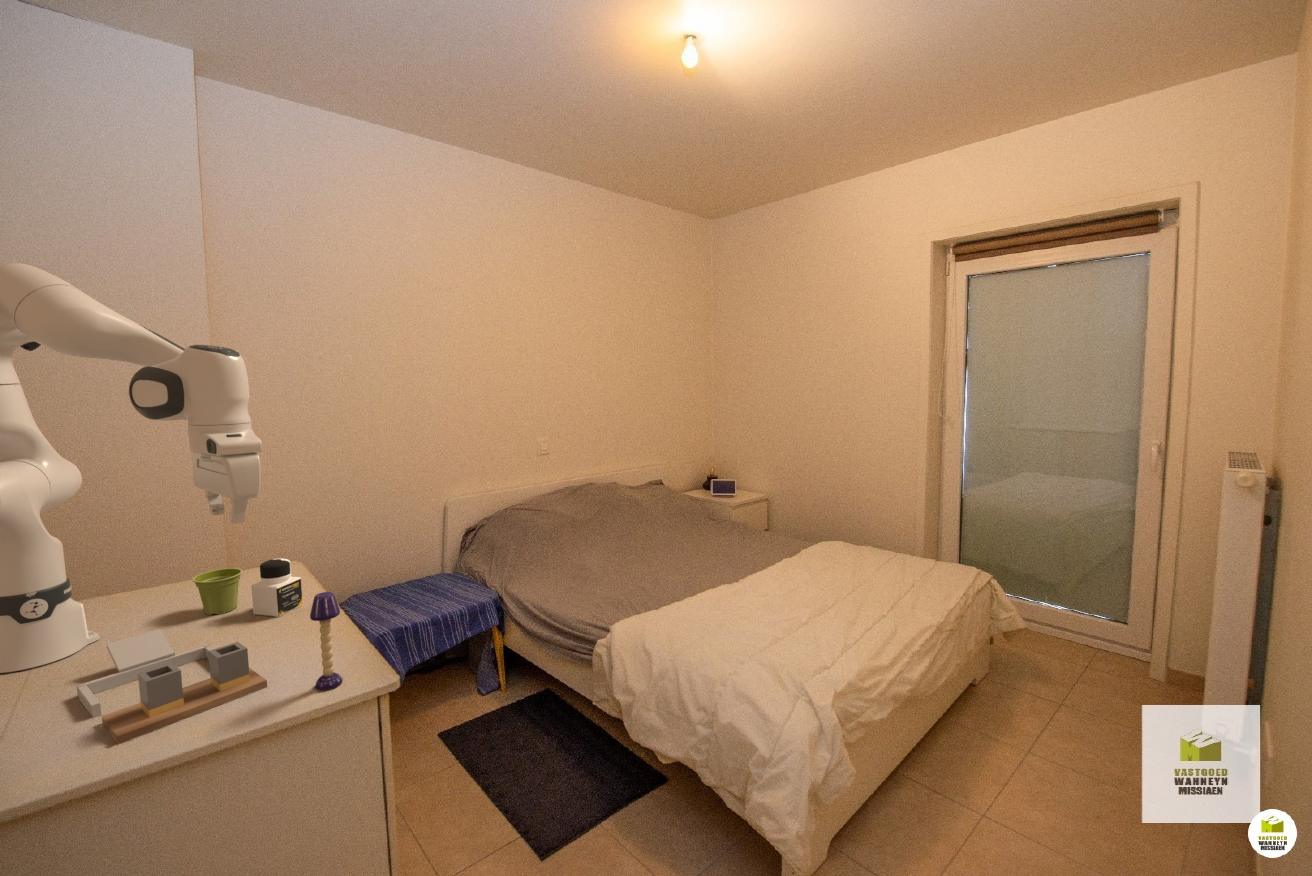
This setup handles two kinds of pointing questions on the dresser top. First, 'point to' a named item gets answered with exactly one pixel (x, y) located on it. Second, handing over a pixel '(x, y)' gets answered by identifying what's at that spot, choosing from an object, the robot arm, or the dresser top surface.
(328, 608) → the toy lamp
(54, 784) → the dresser top surface
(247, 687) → the pin board
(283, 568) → the medicine bottle
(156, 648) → the tray
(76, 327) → the robot arm
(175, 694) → the sleeve
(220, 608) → the plant pot
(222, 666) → the sleeve
